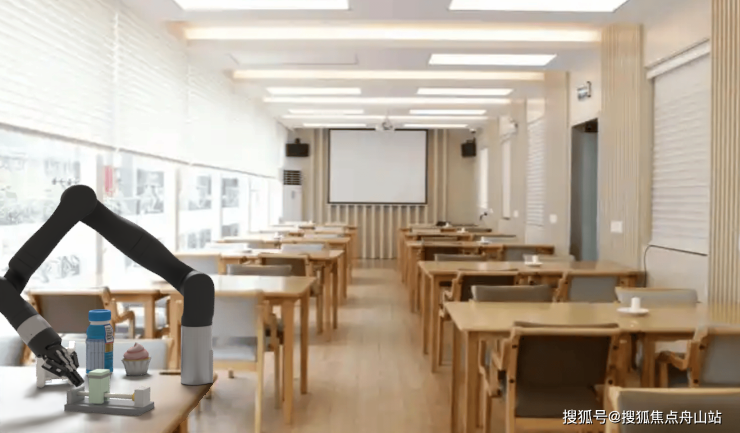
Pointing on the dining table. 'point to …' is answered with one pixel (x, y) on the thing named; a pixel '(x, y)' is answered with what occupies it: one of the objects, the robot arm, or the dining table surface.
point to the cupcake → (136, 360)
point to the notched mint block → (99, 385)
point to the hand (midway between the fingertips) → (80, 384)
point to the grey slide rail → (110, 402)
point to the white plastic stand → (46, 375)
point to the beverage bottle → (99, 341)
